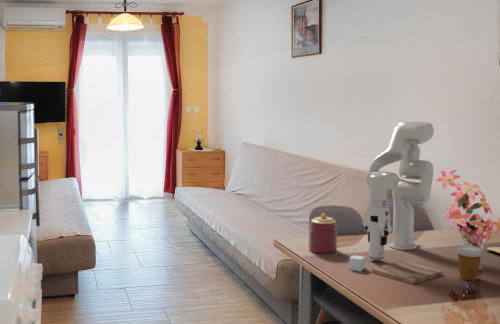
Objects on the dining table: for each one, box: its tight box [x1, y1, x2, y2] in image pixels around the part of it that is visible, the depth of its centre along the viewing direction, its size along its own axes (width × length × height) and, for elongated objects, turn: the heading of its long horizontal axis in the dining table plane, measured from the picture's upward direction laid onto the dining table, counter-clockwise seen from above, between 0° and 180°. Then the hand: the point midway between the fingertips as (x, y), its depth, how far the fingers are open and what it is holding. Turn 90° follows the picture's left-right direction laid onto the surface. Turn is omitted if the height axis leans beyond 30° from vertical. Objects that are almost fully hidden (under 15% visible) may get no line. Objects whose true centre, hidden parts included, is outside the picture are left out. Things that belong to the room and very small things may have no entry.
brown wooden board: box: [371, 259, 444, 285], centre depth 242 cm, size 20×20×2 cm
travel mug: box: [368, 216, 385, 261], centre depth 258 cm, size 6×7×20 cm
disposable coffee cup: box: [456, 245, 483, 281], centre depth 236 cm, size 10×10×12 cm
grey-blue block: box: [348, 255, 366, 272], centre depth 248 cm, size 5×5×5 cm
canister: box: [308, 213, 338, 255], centre depth 276 cm, size 13×13×18 cm
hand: (377, 242), depth 259 cm, fingers closed on travel mug, 6 cm apart
